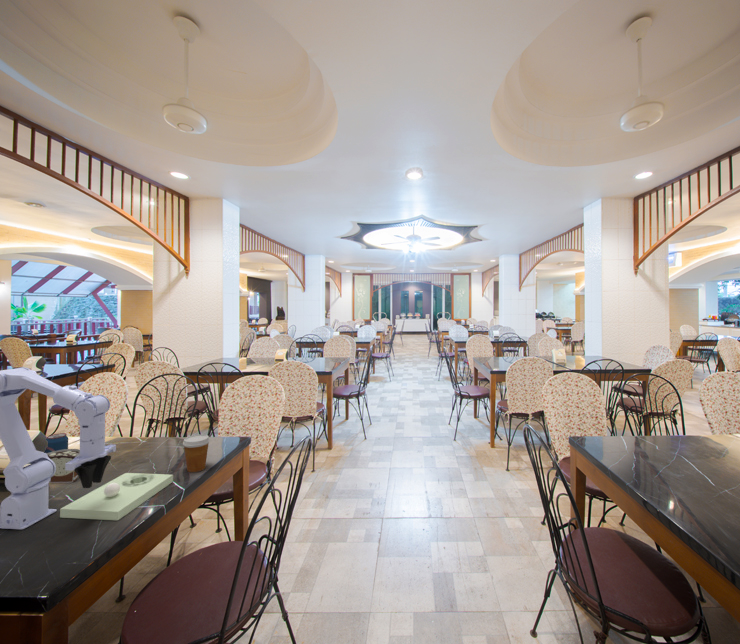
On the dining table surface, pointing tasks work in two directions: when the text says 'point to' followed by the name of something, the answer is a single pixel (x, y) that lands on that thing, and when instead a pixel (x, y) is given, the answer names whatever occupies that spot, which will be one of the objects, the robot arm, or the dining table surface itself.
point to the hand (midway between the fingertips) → (92, 484)
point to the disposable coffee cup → (196, 452)
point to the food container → (63, 465)
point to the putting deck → (117, 497)
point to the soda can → (57, 442)
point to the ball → (111, 489)
